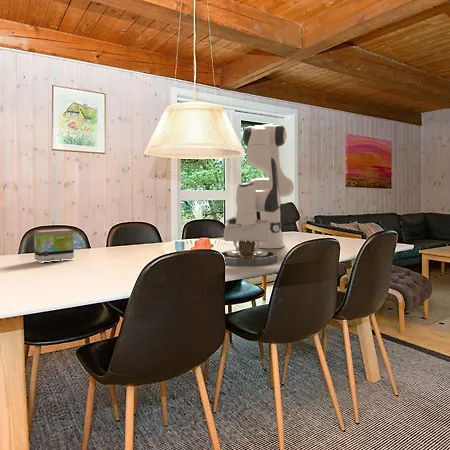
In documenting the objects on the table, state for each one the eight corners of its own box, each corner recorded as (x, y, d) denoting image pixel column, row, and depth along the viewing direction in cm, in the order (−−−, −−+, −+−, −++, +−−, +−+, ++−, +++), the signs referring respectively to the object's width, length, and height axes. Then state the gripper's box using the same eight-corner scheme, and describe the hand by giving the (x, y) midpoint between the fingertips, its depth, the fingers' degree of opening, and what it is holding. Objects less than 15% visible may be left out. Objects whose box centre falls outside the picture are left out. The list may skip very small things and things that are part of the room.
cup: (253, 261, 169) (254, 242, 169) (236, 260, 171) (237, 241, 170) (255, 258, 177) (256, 240, 176) (239, 256, 178) (240, 239, 177)
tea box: (41, 264, 178) (39, 231, 176) (34, 261, 185) (33, 230, 184) (74, 260, 188) (73, 229, 186) (67, 257, 195) (65, 228, 194)
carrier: (208, 258, 187) (208, 246, 187) (258, 254, 199) (258, 242, 198) (233, 268, 163) (233, 254, 163) (288, 262, 174) (288, 249, 174)
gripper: (270, 219, 175) (270, 250, 176) (224, 219, 176) (224, 250, 178) (270, 220, 168) (270, 252, 169) (222, 220, 170) (223, 252, 171)
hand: (246, 251), depth 174 cm, fingers closed on cup, 6 cm apart
